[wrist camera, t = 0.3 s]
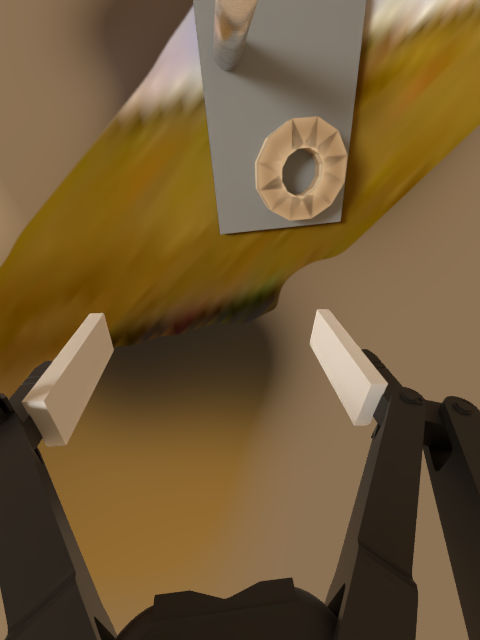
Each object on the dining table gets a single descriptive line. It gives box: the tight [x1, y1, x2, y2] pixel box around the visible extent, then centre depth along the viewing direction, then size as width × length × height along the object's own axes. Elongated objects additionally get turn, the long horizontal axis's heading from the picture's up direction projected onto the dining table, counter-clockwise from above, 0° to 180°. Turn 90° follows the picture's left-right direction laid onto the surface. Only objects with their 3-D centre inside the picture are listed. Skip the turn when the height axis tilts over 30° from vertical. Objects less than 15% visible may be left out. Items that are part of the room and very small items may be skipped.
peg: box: [213, 0, 258, 71], centre depth 22 cm, size 3×3×15 cm
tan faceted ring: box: [255, 116, 348, 221], centre depth 34 cm, size 11×11×3 cm
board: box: [193, 0, 366, 234], centre depth 33 cm, size 24×18×2 cm
